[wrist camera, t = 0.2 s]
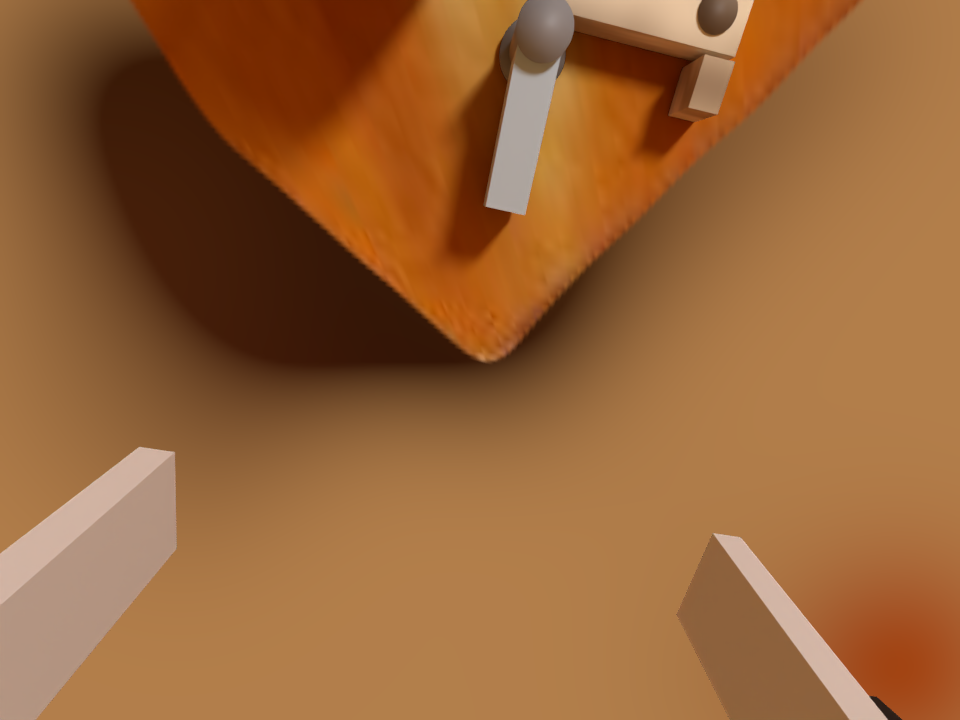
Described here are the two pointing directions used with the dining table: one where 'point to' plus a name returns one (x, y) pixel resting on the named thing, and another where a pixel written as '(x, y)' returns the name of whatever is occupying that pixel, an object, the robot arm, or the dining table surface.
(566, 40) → the leg bar
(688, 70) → the seat panel
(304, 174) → the dining table surface
